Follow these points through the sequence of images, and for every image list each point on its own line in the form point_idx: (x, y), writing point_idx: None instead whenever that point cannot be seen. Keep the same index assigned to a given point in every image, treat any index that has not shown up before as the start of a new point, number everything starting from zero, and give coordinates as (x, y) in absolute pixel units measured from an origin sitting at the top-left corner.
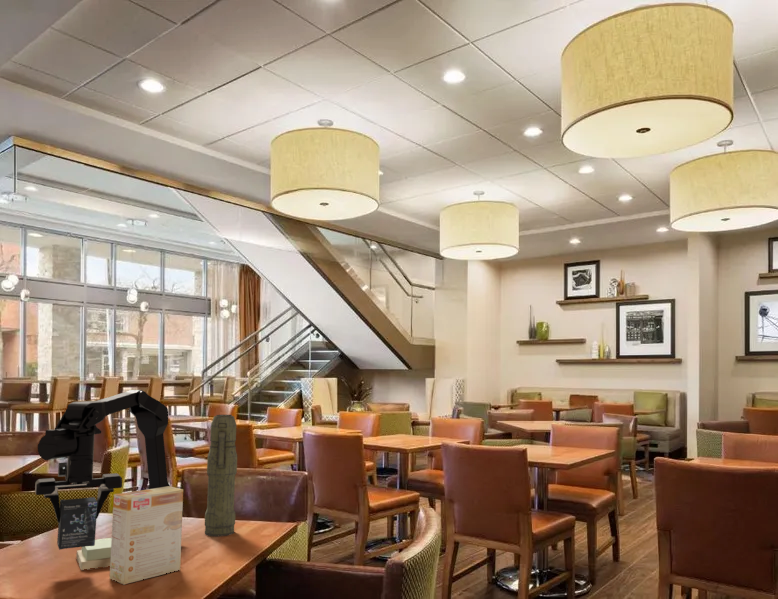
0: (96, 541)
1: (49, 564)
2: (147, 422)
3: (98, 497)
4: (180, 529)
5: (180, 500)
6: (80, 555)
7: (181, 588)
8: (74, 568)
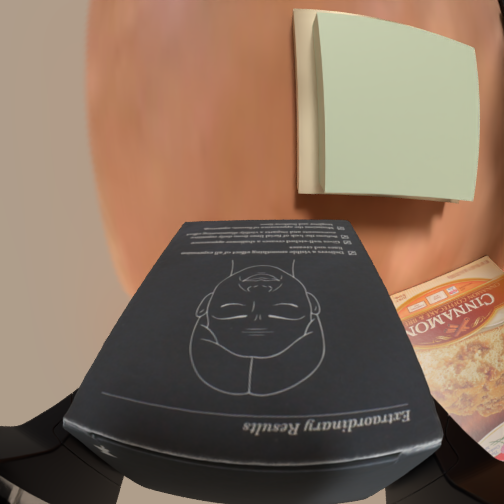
0: (379, 53)
1: (197, 65)
2: None
3: (411, 493)
4: None
5: None
6: (304, 89)
7: None
8: (278, 152)
